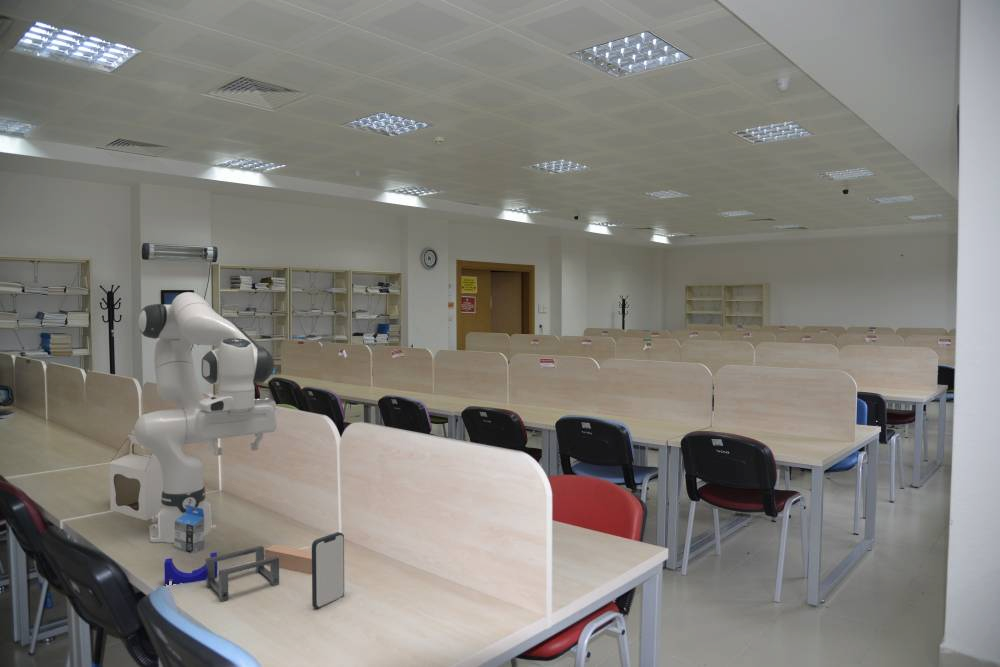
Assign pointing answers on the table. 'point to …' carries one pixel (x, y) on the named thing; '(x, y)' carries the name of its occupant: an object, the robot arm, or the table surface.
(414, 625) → the table surface
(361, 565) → the table surface
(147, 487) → the gable box
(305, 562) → the salmon orange rectangular block
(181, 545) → the label tape box
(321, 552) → the black smartphone
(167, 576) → the blue curved cradle stand
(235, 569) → the grey metal frame stand
